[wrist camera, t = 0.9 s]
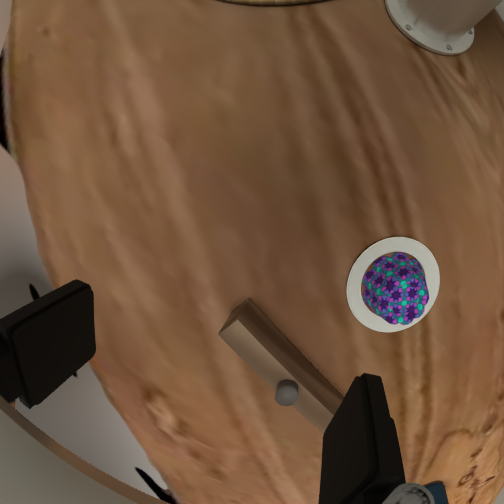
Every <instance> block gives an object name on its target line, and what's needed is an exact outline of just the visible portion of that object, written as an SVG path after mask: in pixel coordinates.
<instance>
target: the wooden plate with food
mask: <svg viewBox="0 0 504 504" xmlns="http://www.w3.org/2000/svg"><path fill="white" fill-rule="evenodd" d="M220 1H225V2H231V3H239V4H248V5H290V4H300V3H309V2H315V1H321V0H220Z"/></svg>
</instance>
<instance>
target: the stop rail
mask: <svg viewBox="0 0 504 504" xmlns="http://www.w3.org/2000/svg"><path fill="white" fill-rule="evenodd" d="M218 335H219V336H220V337H221V338H222V339H223V340H224V341H225V342H226V343H227V344H228V345H229V346H230V347H231V348H232V349H233V350H234V351H235V352H236V353H237V354H238V355H239V356H240V357H241V358H242V359H243V360H244V361H245V362H246V363H247V364H248V365H249V366H250V367H251V368H252V369H253V370H254V371H255V372H256V373H257V374H258V375H259V376H260V377H262V378H263V379H264V380H265V381H266V382H267V383H268V384H269V385H270V386H271V387H272V388H273V389H274V390H275V391H276V395H275V400H276V402H277V403H278V404H280V405H283V406H290V405H292V406H293V407H294V408H295V409H296V410H297V411H298V412H299V413H301V414H302V415H303V416H304V417H305V418H306V419H307V420H309V421H310V422H311V423H312V424H313V425H314V426H315V427H317V428H318V429H319V430H320V431H321V432H322V433H324V432H325V430H326V428H327V426H328V425H329V423H330V421H331V420H332V418H333V416H334V415H335V413H336V411H337V410H338V408H339V406H340V404H341V403H342V401H343V399H344V397H343V396H342V395H341V394H340V393H339V392H338V391H337V390H336V389H335V388H334V387H333V386H332V385H331V384H330V383H329V382H328V381H327V380H326V379H325V378H324V376H323V375H322V374H321V373H320V372H319V371H318V370H317V369H316V368H315V367H314V366H313V365H312V364H311V363H310V362H309V361H308V360H307V359H306V358H305V357H304V356H303V355H302V354H301V353H300V352H299V350H298V349H297V348H296V347H295V346H294V345H293V344H292V343H291V342H290V341H289V340H288V339H287V338H286V337H285V336H284V335H283V334H282V332H281V331H280V330H279V329H278V328H277V327H276V326H275V325H274V324H273V323H272V322H271V321H270V320H269V319H268V317H267V316H266V315H265V314H264V313H263V312H262V311H261V310H260V309H259V308H258V307H257V306H256V304H255V303H254V302H253V301H252V300H251V299H250V298H249V299H247V300H246V301H245V302H243V303H242V304H241V305H240V306H238V307H237V308H236V309H234V310H233V311H232V312H231V314H230V316H229V317H228V319H227V321H226V322H225V324H224V325H223V327H222V329H221V330H220V332H219V334H218Z"/></svg>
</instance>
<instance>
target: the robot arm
mask: <svg viewBox="0 0 504 504" xmlns="http://www.w3.org/2000/svg"><path fill="white" fill-rule="evenodd" d="M500 2H502V0H385V6H386V9H387V12H388V14H389V16H390V18H391V19H392V21H393V22H394V24H395V25H396V26H397V27H398V29H399V30H400V31H401V32H402V33H403V34H404V35H406V36H407V37H408V38H409V39H411V40H412V41H413V42H415V43H416V44H418V45H419V46H421V47H423V48H425V49H427V50H429V51H431V52H434V53H437V54H442V55H458V54H461V53H463V52H465V51H466V50H467V49H468V48H469V47H470V46H471V45H472V43H473V40H474V26H475V25H476V24H477V23H478V22H479V21H480V20H482V19H483V18H484V17H485V16H486V15H487V14H488V13H489V12H490V11H492V10H493V9H494V8H495V7H496V6H497V5H498V4H499V3H500ZM95 351H96V344H95V327H94V295H93V291H92V290H91V287H90V285H89V284H87V283H84V282H82V281H80V280H77V279H76V280H73V281H71V282H69V283H67V284H65V285H63V286H62V287H60V288H58V289H56V290H54V291H52V292H50V293H48V294H46V295H44V296H42V297H40V298H38V299H36V300H35V301H33V302H31V303H29V304H27V305H25V306H23V307H22V308H20V309H18V310H16V311H14V312H12V313H11V314H9V315H7V316H5V317H4V318H2V319H0V504H169V503H167V502H164V501H162V500H159V499H157V498H155V497H153V496H150V495H148V494H146V493H144V492H141V491H139V490H137V489H135V488H133V487H131V486H129V485H127V484H125V483H123V482H121V481H119V480H117V479H116V478H114V477H112V476H110V475H108V474H106V473H105V472H103V471H101V470H99V469H98V468H96V467H94V466H93V465H91V464H89V463H88V462H86V461H84V460H82V459H81V458H80V457H78V456H77V455H75V454H74V453H72V452H71V451H69V450H68V449H66V448H65V447H63V446H62V445H60V444H59V443H57V442H56V441H55V440H53V439H52V438H51V437H49V436H48V435H47V434H45V433H44V432H43V431H41V430H40V429H39V428H37V427H36V426H35V425H34V424H32V423H31V422H30V421H29V420H28V419H26V418H25V417H24V416H23V415H22V414H20V413H19V412H18V411H17V410H15V401H16V400H15V399H17V398H18V397H19V399H20V402H22V403H23V404H24V405H25V406H26V407H28V408H29V409H31V408H32V407H33V406H34V405H38V404H40V403H41V402H42V401H43V400H44V399H45V398H47V397H48V396H49V395H50V394H51V393H52V392H53V391H55V389H57V388H58V387H59V386H60V385H61V384H62V383H63V382H65V381H66V380H67V379H68V378H69V377H70V376H72V375H73V374H74V373H75V372H76V371H77V370H78V369H80V368H81V367H82V366H83V365H84V364H85V363H86V362H88V361H89V360H90V359H91V358H92V357H93V356H94V354H95ZM319 504H435V501H434V498H433V496H432V494H431V493H430V491H429V490H428V489H426V488H425V487H424V486H422V485H420V484H416V483H406V481H405V475H404V469H403V463H402V457H401V452H400V447H399V442H398V437H397V432H396V427H395V423H394V420H393V419H392V418H391V417H390V413H389V409H388V404H387V400H386V396H385V391H384V387H383V383H382V379H381V377H380V376H377V375H372V374H367V373H363V374H362V375H361V377H359V376H356V377H355V379H354V381H353V382H352V384H351V386H350V388H349V390H348V392H347V394H346V395H345V397H344V399H343V401H342V403H341V404H340V406H339V408H338V410H337V411H336V413H335V415H334V416H333V418H332V420H331V421H330V423H329V425H328V426H327V428H326V430H325V432H324V436H323V449H322V467H321V481H320V494H319Z"/></svg>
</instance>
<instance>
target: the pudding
mask: <svg viewBox="0 0 504 504" xmlns="http://www.w3.org/2000/svg"><path fill="white" fill-rule="evenodd" d="M394 251H401V252H406V253H408V254H411V255H412V256H414V257H415V258H416V259H417V260H418V261H419V262H420V263H421V265H422V266H423V269H424V271H425V276H426V280H425V277H424V274H423V271H422V267H421V265H420V263H419V262H418V261H417V260H415V259H408V257H407V255H406V254H404V253H401V252H399V253H394V254H393V255H392V256H391V257H386V256H383V257H380V256H381V255H383V254H386V253H389V252H394ZM378 257H380V258H378ZM377 258H378V259H377ZM375 259H377V260H376V261H375V262H374V265H373V269H372V270H370V271H368V272H367V273H366V274H365V276H364V278H363V275H364V273H365V271H366V269H367V268H368V266H369V265H370V264H371V263H372V262H373V261H374V260H375ZM362 278H363V285H364V286H365V288H366V290H365V292H364V293H363V298H364V301H365V302H366V304H367V305H368V306H370V307H371V308H372V309H373V311H374V312H375V313H376V314H377V315H379V316H377V315H375V314H373V313H372V312H371V311H370V310H369V309H368V308H367V307H366V306H365V304H364V302H363V300H362V296H361V282H362ZM439 284H440V273H439V268H438V265H437V262H436V259H435V258H434V256H433V254H432V253H431V252H430V251H429V249H428V248H427V247H426V246H424V245H423V244H421V243H420V242H418V241H416V240H414V239H411V238H406V237H392V238H387V239H384V240H381V241H378V242H377V243H375V244H373V245H371V246H370V247H369V248H368V249H366V250H365V251H364V252H363V253H362V254H361V255H360V256H359V258H358V259H357V260H356V262H355V263H354V265H353V267H352V269H351V271H350V274H349V277H348V281H347V300H348V303H349V307H350V309H351V311H352V313H353V315H354V316H355V317H356V318H357V320H358V321H360V322H361V323H362V324H363V325H364V326H366V327H368V328H370V329H372V330H375V331H379V332H396V331H401V330H403V329H406V328H409V327H410V326H412V325H414V324H416V323H417V322H418V321H420V320H421V319H422V318H423V317H424V316H425V315H426V314H427V313H428V311H429V310H430V308H431V307H432V306H433V304H434V302H435V299H436V297H437V294H438V291H439Z"/></svg>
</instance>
